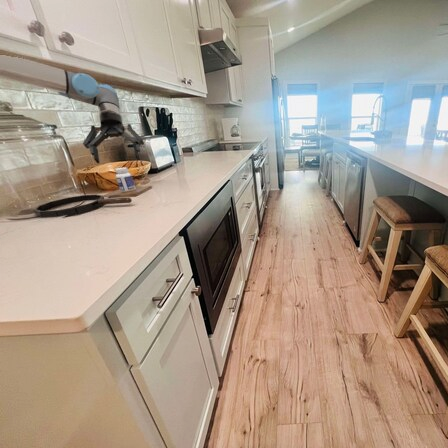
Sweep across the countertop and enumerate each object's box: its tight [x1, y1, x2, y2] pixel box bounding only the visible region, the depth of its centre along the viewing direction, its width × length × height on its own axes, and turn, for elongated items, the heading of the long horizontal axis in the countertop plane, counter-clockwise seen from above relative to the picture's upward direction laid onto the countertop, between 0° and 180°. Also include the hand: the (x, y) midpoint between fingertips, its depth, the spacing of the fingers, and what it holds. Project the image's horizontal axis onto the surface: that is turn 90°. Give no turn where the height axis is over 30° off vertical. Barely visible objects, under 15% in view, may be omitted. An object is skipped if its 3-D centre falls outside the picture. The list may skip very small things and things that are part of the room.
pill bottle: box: [114, 166, 137, 192], centre depth 95 cm, size 5×5×9 cm
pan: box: [33, 194, 133, 219], centre depth 80 cm, size 28×17×3 cm, turn 93°
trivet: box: [103, 185, 153, 199], centre depth 97 cm, size 12×12×1 cm
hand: (117, 159), depth 96 cm, fingers open, 13 cm apart
